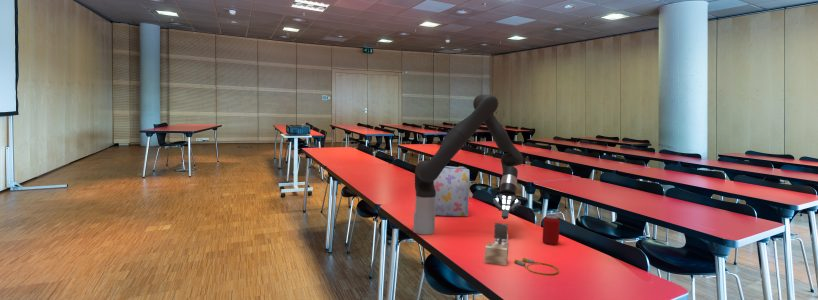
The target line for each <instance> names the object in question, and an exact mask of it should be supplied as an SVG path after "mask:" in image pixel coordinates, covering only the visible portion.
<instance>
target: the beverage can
mask: <svg viewBox="0 0 818 300" xmlns="http://www.w3.org/2000/svg"><path fill="white" fill-rule="evenodd" d="M542 223H543V226H542V242H543V243H544V244H546V245H550V246H556V245H557V244H559V240H560V239H559V238H560V237H559V236H560V226H561V225H560V223H561V222H560V219H559V216H557V215H553V214H551V215H550V214H546V215H545V216H544V218H543V222H542Z"/></svg>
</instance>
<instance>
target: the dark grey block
mask: <svg viewBox="0 0 818 300" xmlns="http://www.w3.org/2000/svg"><path fill="white" fill-rule="evenodd" d="M508 227H509V226H508V224H507V223H500V222H499V223H498V222H495V223H494V235H493V239H495V238H496V239H499V242H498V244H502V241H503V239H504V240H507V234H508V229H509V228H508Z"/></svg>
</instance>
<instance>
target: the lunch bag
mask: <svg viewBox="0 0 818 300" xmlns="http://www.w3.org/2000/svg"><path fill="white" fill-rule="evenodd" d="M434 188H435V190H436V201H435V216H438V217H439V216H446V217H468V216H469V196H470V169H468V168H466V167H465V166H450V165H449V166H448V165H446V166H445V167H444V169H443V170H442V172H441V173H440V175H439V176H438V177H437V179H436V180H434Z"/></svg>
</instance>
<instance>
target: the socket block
mask: <svg viewBox="0 0 818 300" xmlns="http://www.w3.org/2000/svg"><path fill="white" fill-rule="evenodd" d="M484 249H485V250H484V264H485V263H486V264H492V265H498V266H499V265H500V266H507V264H508V260H509V257H508V256H509V245H502V244H494V242H493V243H492V242H487V243H486V244H485V247H484Z"/></svg>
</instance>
